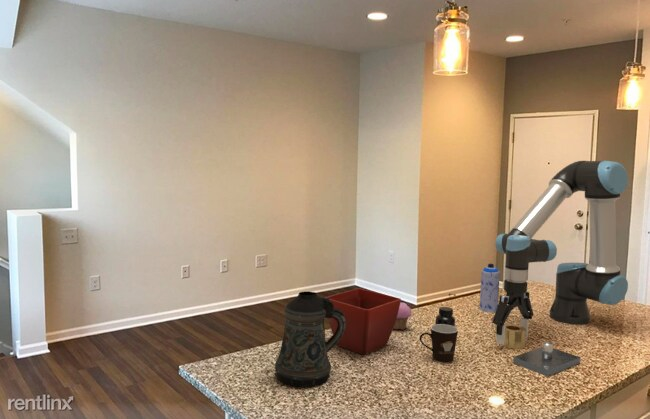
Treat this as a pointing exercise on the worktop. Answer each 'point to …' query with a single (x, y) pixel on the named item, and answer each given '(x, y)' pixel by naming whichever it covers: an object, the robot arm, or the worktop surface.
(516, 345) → the ring
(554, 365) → the shaft stand
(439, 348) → the coffee mug
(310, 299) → the beer stein
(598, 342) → the worktop surface
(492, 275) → the aerosol can
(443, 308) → the supplement bottle
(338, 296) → the plant pot
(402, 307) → the cupcake
